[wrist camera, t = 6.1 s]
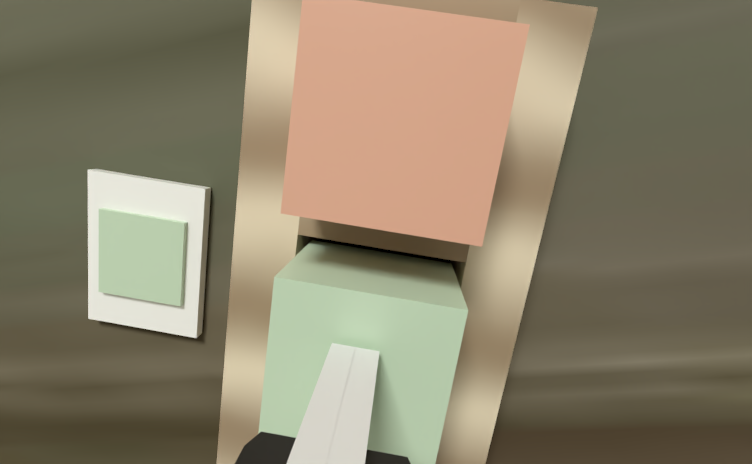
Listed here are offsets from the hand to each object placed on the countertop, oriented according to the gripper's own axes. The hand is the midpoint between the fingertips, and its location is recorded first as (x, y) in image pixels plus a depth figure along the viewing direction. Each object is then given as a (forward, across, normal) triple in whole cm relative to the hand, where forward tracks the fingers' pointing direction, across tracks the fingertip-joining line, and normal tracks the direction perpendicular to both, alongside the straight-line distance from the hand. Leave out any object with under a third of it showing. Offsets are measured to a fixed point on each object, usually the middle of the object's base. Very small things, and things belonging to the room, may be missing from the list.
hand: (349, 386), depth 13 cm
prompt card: (+8, -12, 0) cm, 14 cm away
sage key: (+5, 0, 0) cm, 5 cm away
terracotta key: (+5, 0, +8) cm, 10 cm away
